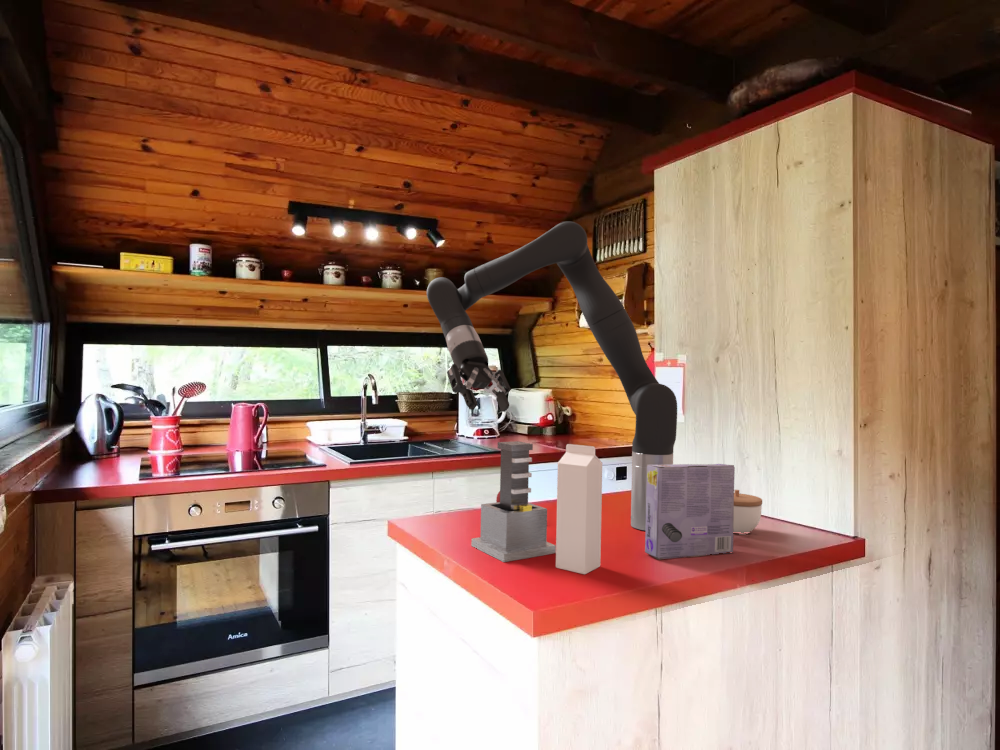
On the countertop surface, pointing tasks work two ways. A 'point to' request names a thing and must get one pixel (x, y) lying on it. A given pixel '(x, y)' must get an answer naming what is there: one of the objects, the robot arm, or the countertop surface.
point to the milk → (579, 510)
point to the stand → (513, 532)
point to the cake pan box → (689, 510)
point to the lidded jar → (746, 512)
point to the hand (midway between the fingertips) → (490, 408)
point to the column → (514, 474)
